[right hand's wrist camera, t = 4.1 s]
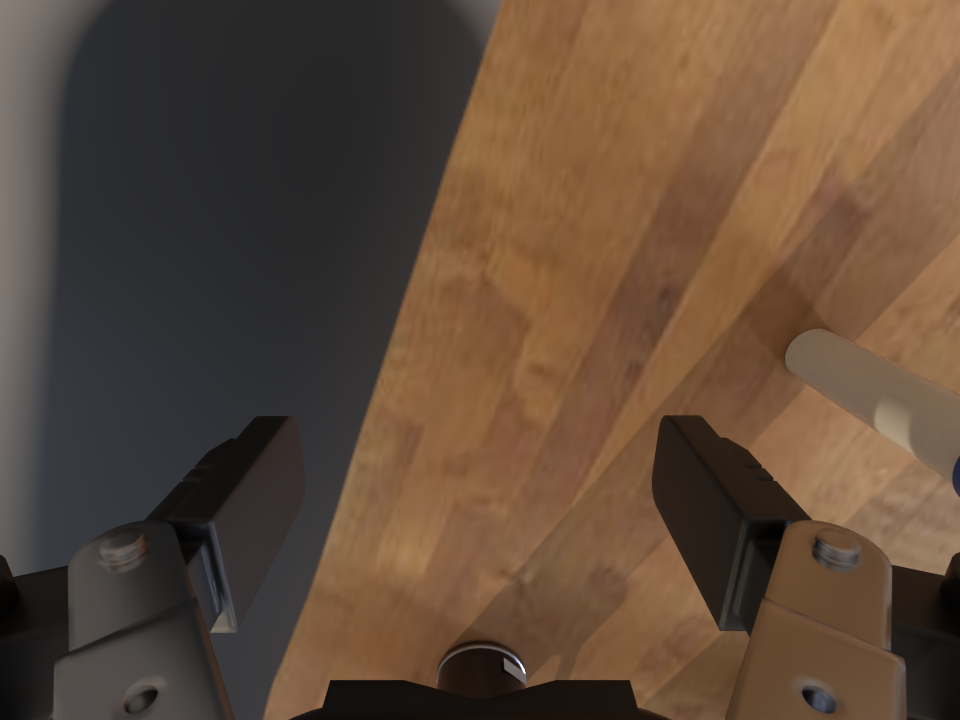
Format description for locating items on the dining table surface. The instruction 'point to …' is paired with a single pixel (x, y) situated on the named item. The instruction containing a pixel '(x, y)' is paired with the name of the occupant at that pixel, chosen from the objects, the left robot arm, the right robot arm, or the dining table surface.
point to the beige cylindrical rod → (882, 396)
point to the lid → (956, 477)
